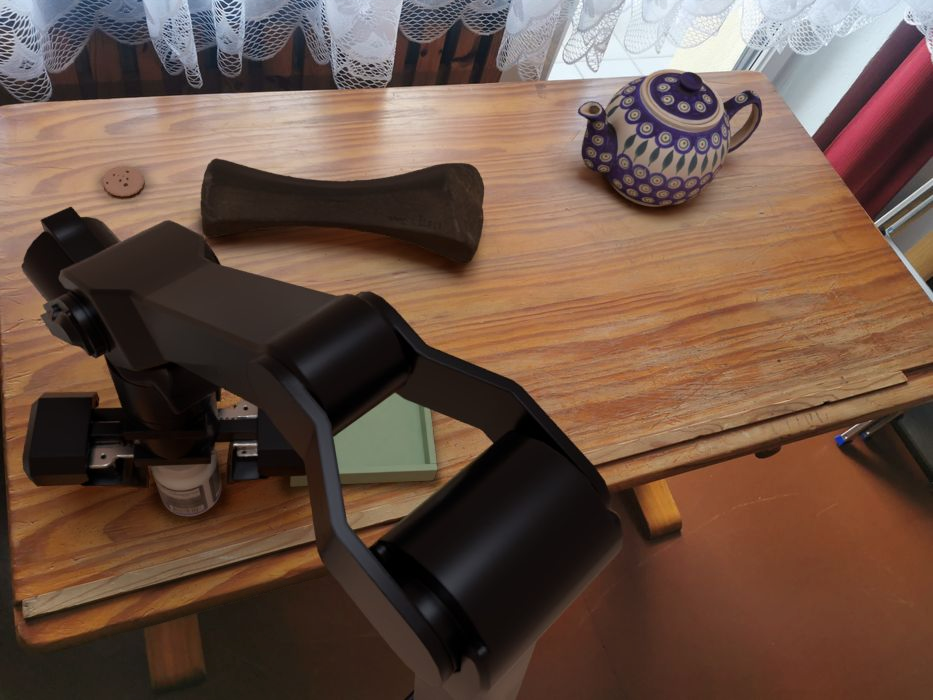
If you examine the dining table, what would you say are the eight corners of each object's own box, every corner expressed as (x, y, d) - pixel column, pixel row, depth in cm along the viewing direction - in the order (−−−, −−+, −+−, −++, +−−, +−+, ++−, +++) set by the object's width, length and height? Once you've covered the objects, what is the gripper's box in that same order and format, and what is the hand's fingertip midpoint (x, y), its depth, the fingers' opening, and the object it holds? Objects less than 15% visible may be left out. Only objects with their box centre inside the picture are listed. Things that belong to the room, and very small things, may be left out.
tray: (433, 480, 68) (437, 470, 66) (290, 486, 65) (290, 475, 63) (419, 361, 74) (423, 348, 72) (288, 361, 71) (289, 348, 69)
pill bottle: (192, 452, 65) (182, 405, 58) (234, 487, 64) (229, 443, 57) (147, 493, 62) (131, 448, 55) (190, 529, 61) (179, 489, 55)
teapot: (704, 130, 102) (762, 33, 90) (752, 216, 95) (823, 124, 83) (529, 135, 95) (566, 29, 82) (567, 229, 88) (615, 129, 75)
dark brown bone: (476, 240, 87) (217, 244, 83) (480, 145, 81) (204, 145, 78) (491, 280, 77) (200, 287, 74) (497, 177, 72) (183, 178, 69)
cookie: (100, 197, 77) (99, 190, 76) (105, 167, 79) (103, 160, 78) (143, 199, 77) (141, 192, 77) (146, 170, 80) (145, 162, 79)
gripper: (313, 283, 55) (306, 390, 68) (22, 277, 51) (73, 393, 63) (318, 424, 49) (309, 511, 62) (-10, 432, 45) (53, 524, 58)
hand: (188, 480), depth 62 cm, fingers open, 6 cm apart
